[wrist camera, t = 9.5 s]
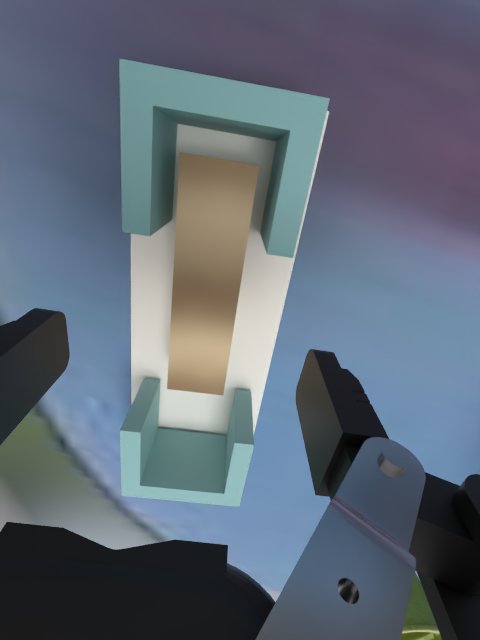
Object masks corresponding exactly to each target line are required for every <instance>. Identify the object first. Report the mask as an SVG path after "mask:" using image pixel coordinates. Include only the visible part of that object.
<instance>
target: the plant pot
mask: <svg viewBox="0 0 480 640" xmlns="http://www.w3.org/2000/svg"><path fill="white" fill-rule="evenodd" d="M401 640H442V638H441V635H440V633H439V630H438V627H437V625H436V622H435V619H434V617H433V614H432V611H431V608H430V606H429V603H428V600H427V598H426V595H425V592H424V590H423V587H422V584H421V582H420V580H419V578H418V577H417V575H416V573H414V578H413V583H412V588H411V593H410V597H409V602H408V607H407V612H406V617H405V621H404V626H403V631H402V636H401Z"/></svg>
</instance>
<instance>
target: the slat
mask: <svg viewBox="0 0 480 640" xmlns="http://www.w3.org/2000/svg"><path fill="white" fill-rule="evenodd" d="M258 170H259V165H255V164H248V163H242V162H236V161H230V160H224V159H218V158H212V157H206V156H200V155H194V154H188V153H182V152H180V157H179V175H178V194H177V213H176V231H175V250H174V269H173V287H172V306H171V324H170V343H169V362H168V380H167V389H171V390H180V391H189V392H198V393H206V394H215V395H223V394H224V387H225V381H226V375H227V368H228V362H229V355H230V349H231V343H232V336H233V330H234V323H235V317H236V311H237V304H238V298H239V291H240V285H241V279H242V272H243V266H244V259H245V253H246V247H247V240H248V234H249V227H250V221H251V215H252V208H253V202H254V195H255V189H256V182H257V176H258Z"/></svg>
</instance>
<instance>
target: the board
mask: <svg viewBox="0 0 480 640" xmlns="http://www.w3.org/2000/svg"><path fill="white" fill-rule="evenodd" d="M328 115H329V111H327V113H326V117H325V121H324V126H323V130H322V134H321V138H320V143H319V147H318V151H317V156H316V160H315V164H314V169H313V173H312V177H311V182H310V186H309V190H308V195H307V199H306V203H305V208H304V212H303V216H302V221H301V225H300V229H299V234H298V238H297V242H296V247H295V251H294V255H293V258H289V257H283V256H276V255H270V254H267V253H266V250H265V247H264V244H263V241H262V238H261V235H260V231H261V225H262V219H263V214H264V208H265V202H266V197H267V191H268V185H269V180H270V174H271V169H272V163H273V157H274V152H275V146H276V141H272V140H266V139H260V138H255V137H249V136H243V135H238V134H232V133H227V132H221V131H215V130H210V129H204V128H198V127H193V126H187V125H182V124H177V142H176V161H175V179H174V198H173V217H172V220H171V221H170V222H169V223H167V224H166V225H164V226H163V227H162V228H160V229H159V230H158V231H156V232H155V233H154V234H152V235H151V236H144V235H138V234H131V405H132V403H133V401H134V399H135V397H136V394H137V392H138V390H139V388H140V386H141V384H142V381H143V379H152V380H160V396H159V417H158V428H160V429H169V430H178V431H187V432H196V433H205V434H214V435H223V436H227V433H228V427H229V422H230V416H231V411H232V405H233V400H234V395H235V390H243V391H251V397H252V416H253V435H254V431H255V427H256V422H257V418H258V414H259V410H260V405H261V401H262V397H263V393H264V388H265V384H266V380H267V375H268V371H269V367H270V363H271V358H272V354H273V350H274V346H275V341H276V337H277V333H278V328H279V324H280V320H281V316H282V311H283V307H284V303H285V299H286V294H287V290H288V286H289V282H290V277H291V273H292V269H293V264H294V260H295V256H296V252H297V247H298V243H299V239H300V235H301V230H302V226H303V222H304V218H305V213H306V209H307V205H308V200H309V196H310V192H311V188H312V183H313V179H314V175H315V171H316V166H317V162H318V158H319V153H320V149H321V145H322V141H323V136H324V132H325V128H326V124H327V119H328ZM180 152H182V153H188V154H194V155H200V156H206V157H212V158H218V159H224V160H230V161H236V162H242V163H248V164H255V165H259V170H258V176H257V182H256V189H255V195H254V202H253V208H252V215H251V221H250V227H249V234H248V240H247V247H246V253H245V259H244V266H243V272H242V279H241V285H240V291H239V298H238V304H237V311H236V317H235V323H234V330H233V336H232V343H231V349H230V355H229V362H228V368H227V375H226V381H225V387H224V394H223V395H215V394H206V393H198V392H189V391H180V390H171V389H167V380H168V362H169V343H170V324H171V306H172V287H173V269H174V250H175V231H176V213H177V194H178V175H179V157H180Z"/></svg>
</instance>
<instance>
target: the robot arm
mask: <svg viewBox="0 0 480 640" xmlns="http://www.w3.org/2000/svg"><path fill="white" fill-rule="evenodd" d="M68 361H69V344H68V335H67V326H66V318H65V315H64V314H63V313H62V312H59V311H52V310H46V309H39V308H35V309H32V310H31V311H29V312H28V313H26V314H25V315H24V316H22V317H21V318H19V319H18V320H16V321H12V322H10V323H7V324H4V325H2V326H0V445H1V444H2V443H3V441H4V440H5V439H6V438H7V437H8V436H9V434H10V433H11V432H12V431H13V430H14V429H15V428H16V426H17V425H18V424H19V423H20V422H21V421H22V419H23V418H24V417H25V416H26V415H27V414H28V413H29V411H30V410H31V409H32V408H33V407H34V406H35V404H36V403H37V402H38V401H39V400H40V399H41V398H42V396H43V395H44V394H45V393H46V392H47V391H48V389H49V388H50V387H51V386H52V385H53V384H54V382H55V381H56V380H57V379H58V378H59V377H60V376H61V374H62V373H63V372H64V371H65V369H66V367H67V365H68ZM296 405H297V410H298V415H299V420H300V424H301V429H302V434H303V438H304V443H305V448H306V453H307V457H308V462H309V467H310V471H311V476H312V481H313V486H314V490H315V495H320V496H328V497H330V499H331V502H330V504H329V505H328V507H327V509H326V511H325V513H324V515H323V516H322V518H321V520H320V522H319V524H318V526H317V527H316V529H315V531H314V533H313V535H312V537H311V538H310V540H309V542H308V544H307V546H306V548H305V550H304V551H303V553H302V555H301V557H300V559H299V561H298V562H297V564H296V566H295V568H294V570H293V572H292V573H291V575H290V577H289V579H288V581H287V583H286V584H285V586H284V588H283V590H282V592H281V594H280V595H279V597H278V599H277V601H276V602H275V601H274V600H273V599H272V597H271V596H270V595H269V594H268V593H267V592H266V591H265V590H264V588H263V587H262V586H261V585H260V584H259V583H257V582H256V581H255V580H254V579H252V578H251V577H250V576H249V575H248V574H246V573H244V572H243V571H241V570H239V569H238V568H236V567H234V566H232V565H230V564H227V551H228V545H221V544H211V543H202V542H192V541H183V540H171V541H165V542H160V543H154V544H148V545H143V546H138V547H132V548H126V549H121V550H113V549H110V548H107V547H105V546H103V545H100V544H98V543H96V542H94V541H91V540H89V539H87V538H84V537H82V536H80V535H78V534H76V533H73V532H71V531H69V530H67V529H64V528H59V527H50V526H40V525H31V524H21V523H12V522H7V523H6V524H5V526H4V527H3V529H2V531H1V532H0V640H401V636H402V631H403V626H404V621H405V617H406V612H407V607H408V602H409V597H410V593H411V588H412V583H413V578H414V573H415V571H417V574H418V576H419V579H420V582H421V584H422V587H423V590H424V592H425V595H426V598H427V600H428V603H429V606H430V608H431V611H432V614H433V617H434V619H435V622H436V625H437V627H438V630H439V633H440V635H441V638H442V640H480V475H478V474H475V475H470V476H468V477H467V478H466V479H465V481H464V482H463V483H462V485H461V486H458V485H456V484H453V483H451V482H448V481H446V480H443V479H441V478H438V477H435V476H433V475H430V474H428V473H426V472H425V471H424V469H423V467H422V465H421V463H420V462H419V460H418V459H417V458H416V457H415V456H414V455H413V454H412V453H411V452H410V451H409V450H408V449H406V448H405V447H403V446H402V445H400V444H399V443H397V442H395V441H392V440H390V439H389V438H388V436H387V434H386V432H385V430H384V428H383V426H382V424H381V422H380V420H379V418H378V416H377V415H376V413H375V411H374V409H373V407H372V405H371V404H370V401H369V399H368V397H367V395H366V394H364V390H363V388H362V386H361V384H360V382H359V380H358V379H357V378H356V377H355V376H354V375H353V374H352V373H351V372H349V371H348V370H347V369H342V368H341V367H340V365H339V363H338V360H337V358H336V356H335V354H334V353H333V352H327V351H321V350H314V349H310V350H309V352H308V354H307V356H306V359H305V363H304V366H303V369H302V372H301V375H300V379H299V382H298V385H297V390H296Z"/></svg>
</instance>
